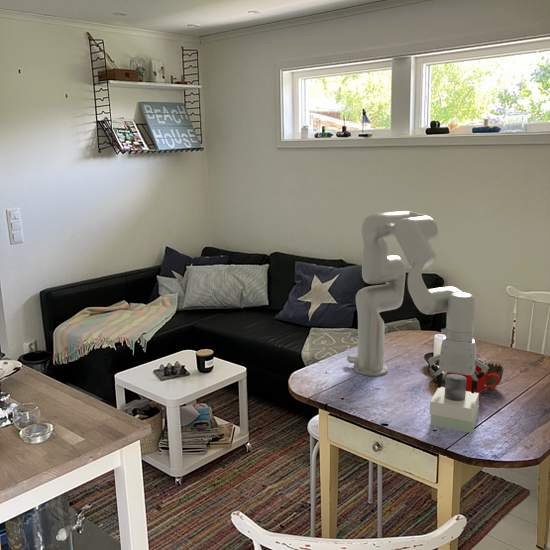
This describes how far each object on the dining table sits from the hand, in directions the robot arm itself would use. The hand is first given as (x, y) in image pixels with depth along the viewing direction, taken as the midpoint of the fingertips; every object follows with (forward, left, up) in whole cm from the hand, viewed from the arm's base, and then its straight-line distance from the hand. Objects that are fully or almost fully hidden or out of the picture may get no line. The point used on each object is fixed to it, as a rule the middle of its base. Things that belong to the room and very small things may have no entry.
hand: (456, 389), depth 179 cm
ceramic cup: (+2, +20, -10) cm, 22 cm away
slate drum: (0, 0, -2) cm, 3 cm away
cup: (+7, +28, -10) cm, 31 cm away
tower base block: (0, -1, -10) cm, 11 cm away
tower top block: (0, 0, -6) cm, 7 cm away
